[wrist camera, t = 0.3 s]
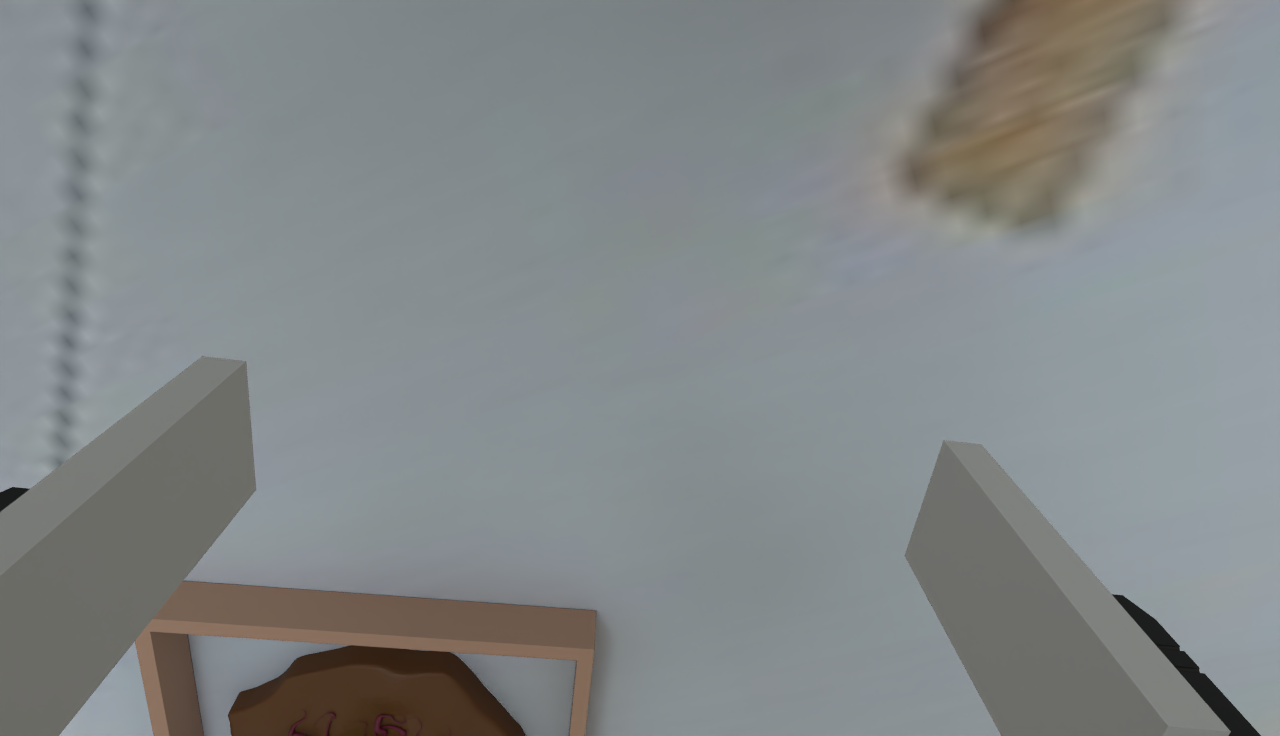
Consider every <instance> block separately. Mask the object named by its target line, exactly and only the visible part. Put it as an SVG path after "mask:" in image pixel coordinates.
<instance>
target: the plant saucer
mask: <svg viewBox="0 0 1280 736" xmlns="http://www.w3.org/2000/svg"><path fill="white" fill-rule="evenodd" d="M595 627H596V611H593V610H579V609H565V608H551V607H537V606H524V605H510V604H496V603H482V602H468V601H454V600H441V599H427V598H413V597H399V596H385V595H371V594H357V593H344V592H330V591H316V590H302V589H288V588H274V587H260V586H247V585H233V584H219V583H205V582H191V581H183V582H182V583H181V584H180V585H179V587H178V588H177V589H176V590H175V591H174V593H173V594H172V595H171V596H170V598H169V599H168V600H167V601H166V603H165V604H164V605H163V606H162V608H161V609H160V610H159V611H158V613H157V614H156V615H155V616H154V618H153V619H152V620H151V621H150V623H149V624H148V625H147V626H146V628H145V629H144V630H143V631H142V633H141V634H140V635H139V636H138V638H137V639H136V640H135V644H136V649H137V654H138V659H139V664H140V669H141V674H142V679H143V684H144V689H145V694H146V699H147V704H148V709H149V714H150V719H151V724H152V729H153V734H154V736H204V734H203V728H202V722H201V716H200V710H199V703H198V697H197V691H196V685H195V679H194V673H193V667H192V660H191V654H190V648H189V642H188V636H187V634H194V635H208V636H223V637H238V638H252V639H267V640H282V641H296V642H311V643H326V644H341V645H355V646H370V647H385V648H399V649H414V650H429V651H444V652H458V653H473V654H488V655H502V656H517V657H532V658H546V659H561V660H576V667H575V677H574V687H573V697H572V707H571V717H570V727H569V736H585V730H586V721H587V712H588V703H589V694H590V685H591V676H592V667H593V658H594V648H595Z"/></svg>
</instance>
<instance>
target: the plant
mask: <svg viewBox="0 0 1280 736" xmlns="http://www.w3.org/2000/svg"><path fill="white" fill-rule="evenodd" d="M228 717H229V721H230V727H231V735H232V736H525V733H524V731H523V729H522V728H521V726H520V725H519V724H518V723H517V722H516V721H515V720H514V719H513V718H512V717H511V715H510V714H509V713H508V712H507V711H506V709H505V708H504V707H503V706H502V705H501V704H500V703H499V702H498V701H497V699H496V698H495V697H494V696H493V695H492V694H491V693H490V692H489V691H488V690H487V689H486V688H485V687H484V685H483V684H482V683H481V682H480V681H479V679H478V678H477V677H476V675H475V674H474V673H473V672H472V671H471V670H470V669H469V668H468V667H467V665H466V664H465V663H464V662H463V661H462V660H461V659H459V658H458V657H457V656H456V655H454V654H453V653H450V652H439V651H419V650H409V649H399V648H385V647H370V646H355V645H351V646H347V647H342V648H338V649H334V650H329V651H324V652H319V653H314V654H309V655H305V656H302V657H299V658H297V659H296V660H295V661H294V662H293V663H292V664H291V666H290V667H289V668H288V669H287V670H286V671H285V672H284V673H283V674H282V675H281V676H279V677H278V678H276V679H274V680H271V681H269V682H267V683H265V684H263V685H260V686H258V687H256V688H253V689H249V690H246V691H242V692H240V693H239V695H238V696H237V698H236V700H235V702H234V704H233V706H232V708H231V710H230V712H229V714H228Z"/></svg>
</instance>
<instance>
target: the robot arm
mask: <svg viewBox="0 0 1280 736" xmlns="http://www.w3.org/2000/svg"><path fill="white" fill-rule="evenodd" d="M255 491H256V482H255V469H254V456H253V443H252V430H251V417H250V404H249V391H248V378H247V365H246V361H240V360H231V359H222V358H213V357H204V356H202V357H201V358H200V359H198V360H197V361H196V362H194V363H193V364H192V365H191V366H189V367H188V368H187V369H185V370H184V371H183V372H181V373H180V374H179V375H178V376H176V377H175V378H174V379H172V380H171V381H170V382H168V383H167V384H166V385H165V386H163V387H162V388H161V389H159V390H158V391H157V392H155V393H154V394H153V395H152V396H150V397H149V398H148V399H146V400H145V401H144V402H142V403H141V404H140V405H139V406H137V407H136V408H135V409H133V410H132V411H131V412H130V413H128V414H127V415H126V416H124V417H123V418H122V419H120V420H119V421H118V422H117V423H115V424H114V425H113V426H111V427H110V428H109V429H107V430H106V431H105V432H104V433H102V434H101V435H100V436H98V437H97V438H96V439H94V440H93V441H92V442H91V443H89V444H88V445H87V446H85V447H84V448H83V449H81V450H80V451H79V452H78V453H76V454H75V455H74V456H72V457H71V458H70V459H68V460H67V461H66V462H65V463H63V464H62V465H61V466H59V467H58V468H57V469H56V470H54V471H53V472H52V473H50V474H49V475H48V476H46V477H45V478H44V479H43V480H41V481H40V482H39V483H37V484H36V485H35V486H33V487H32V488H31V489H26V488H16V487H12V488H10V489H7V490H5V491H3V492H0V736H59V735H60V734H61V732H62V731H63V730H64V729H65V727H66V726H67V725H68V724H69V722H70V721H71V720H72V719H73V717H74V716H75V715H76V714H77V712H78V711H79V710H80V709H81V707H82V706H83V705H84V704H85V702H86V701H87V700H88V699H89V697H90V696H91V695H92V694H93V692H94V691H95V690H96V689H97V687H98V686H99V685H100V684H101V682H102V681H103V680H104V679H105V677H106V676H107V675H108V674H109V672H110V671H111V670H112V669H113V668H114V666H115V665H116V664H117V663H118V661H119V660H120V659H121V658H122V656H123V655H124V654H125V653H126V651H127V650H128V649H129V648H130V646H131V645H132V644H133V643H134V641H135V640H136V639H137V638H138V636H139V635H140V634H141V633H142V631H143V630H144V629H145V628H146V626H147V625H148V624H149V623H150V621H151V620H152V619H153V618H154V616H155V615H156V614H157V613H158V611H159V610H160V609H161V608H162V606H163V605H164V604H165V603H166V601H167V600H168V599H169V598H170V596H171V595H172V594H173V593H174V591H175V590H176V589H177V588H178V587H179V585H180V584H181V583H182V582H183V580H184V579H185V578H186V577H187V575H188V574H189V573H190V572H191V570H192V569H193V568H194V567H195V565H196V564H197V563H198V562H199V560H200V559H201V558H202V557H203V555H204V554H205V553H206V552H207V550H208V549H209V548H210V547H211V545H212V544H213V543H214V542H215V540H216V539H217V538H218V537H219V535H220V534H221V533H222V532H223V530H224V529H225V528H226V527H227V525H228V524H229V523H230V522H231V520H232V519H233V518H234V517H235V515H236V514H237V513H238V512H239V510H240V509H241V508H242V507H243V506H244V504H245V503H246V502H247V501H248V499H249V498H250V497H251V496H252V494H253V493H254V492H255ZM905 557H906V559H907V561H908V563H909V565H910V566H911V568H912V570H913V572H914V574H915V576H916V578H917V579H918V581H919V583H920V585H921V587H922V589H923V591H924V593H925V594H926V596H927V598H928V600H929V602H930V604H931V606H932V607H933V609H934V611H935V613H936V615H937V617H938V619H939V620H940V622H941V624H942V626H943V628H944V630H945V632H946V633H947V635H948V637H949V639H950V641H951V643H952V645H953V647H954V648H955V650H956V652H957V654H958V656H959V658H960V660H961V661H962V663H963V665H964V667H965V669H966V671H967V673H968V674H969V676H970V678H971V680H972V682H973V684H974V686H975V687H976V689H977V691H978V693H979V695H980V697H981V699H982V700H983V702H984V704H985V706H986V708H987V710H988V712H989V714H990V715H991V717H992V719H993V721H994V723H995V725H996V727H997V728H998V730H999V732H1000V734H1001V736H1261V735H1260V734H1259V733H1258V732H1257V731H1256V730H1255V729H1254V728H1253V727H1252V725H1251V724H1250V723H1249V722H1248V721H1247V720H1246V719H1245V718H1244V717H1243V716H1242V714H1241V713H1240V712H1239V711H1238V710H1237V709H1236V708H1235V707H1234V706H1233V704H1232V703H1231V702H1230V701H1229V700H1228V699H1227V698H1226V697H1225V696H1224V695H1223V693H1222V692H1221V691H1220V690H1219V689H1218V688H1217V687H1216V686H1215V685H1214V683H1213V682H1212V681H1211V680H1210V679H1209V678H1208V677H1207V676H1206V675H1205V674H1203V673H1200V672H1199V667H1198V666H1197V665H1196V664H1195V663H1194V661H1193V660H1192V659H1191V658H1190V657H1189V656H1188V655H1187V654H1186V653H1185V651H1180V649H1179V647H1180V646H1179V645H1178V644H1177V643H1176V642H1175V640H1174V639H1173V638H1172V637H1171V636H1170V635H1169V634H1168V633H1167V632H1166V630H1165V629H1164V628H1163V627H1162V626H1161V625H1160V624H1159V623H1158V622H1157V621H1156V620H1155V619H1154V618H1153V617H1151V616H1150V615H1149V614H1147V613H1146V612H1145V611H1143V610H1142V609H1140V608H1139V607H1138V606H1136V605H1135V604H1134V603H1132V602H1131V601H1129V600H1128V599H1127V598H1125V597H1124V596H1123V595H1113V594H1111V593H1110V592H1109V591H1108V590H1107V588H1106V587H1105V586H1104V585H1103V584H1102V583H1101V582H1100V580H1099V579H1098V578H1097V577H1096V576H1095V575H1094V573H1093V572H1092V571H1091V570H1090V569H1089V568H1088V567H1087V565H1086V564H1085V563H1084V562H1083V561H1082V560H1081V559H1080V557H1079V556H1078V555H1077V554H1076V553H1075V552H1074V550H1073V549H1072V548H1071V547H1070V546H1069V545H1068V544H1067V542H1066V541H1065V540H1064V539H1063V538H1062V537H1061V535H1060V534H1059V533H1058V532H1057V531H1056V530H1055V529H1054V527H1053V526H1052V525H1051V524H1050V523H1049V522H1048V521H1047V519H1046V518H1045V517H1044V516H1043V515H1042V514H1041V512H1040V511H1039V510H1038V509H1037V508H1036V507H1035V506H1034V504H1033V503H1032V502H1031V501H1030V500H1029V499H1028V497H1027V496H1026V495H1025V494H1024V493H1023V492H1022V491H1021V489H1020V488H1019V487H1018V486H1017V485H1016V484H1015V482H1014V481H1013V480H1012V479H1011V478H1010V477H1009V476H1008V474H1007V473H1006V472H1005V471H1004V470H1003V469H1002V468H1001V466H1000V465H999V464H998V463H997V462H996V461H995V459H994V458H993V457H992V456H991V455H990V454H989V453H988V451H987V450H986V449H985V448H984V447H983V446H982V445H981V444H972V443H963V442H954V441H946V440H944V441H943V444H942V447H941V450H940V453H939V456H938V459H937V462H936V464H935V467H934V470H933V473H932V476H931V479H930V482H929V485H928V488H927V491H926V494H925V497H924V500H923V503H922V506H921V509H920V512H919V515H918V518H917V521H916V524H915V527H914V530H913V533H912V536H911V539H910V541H909V544H908V547H907V550H906V553H905Z"/></svg>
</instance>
